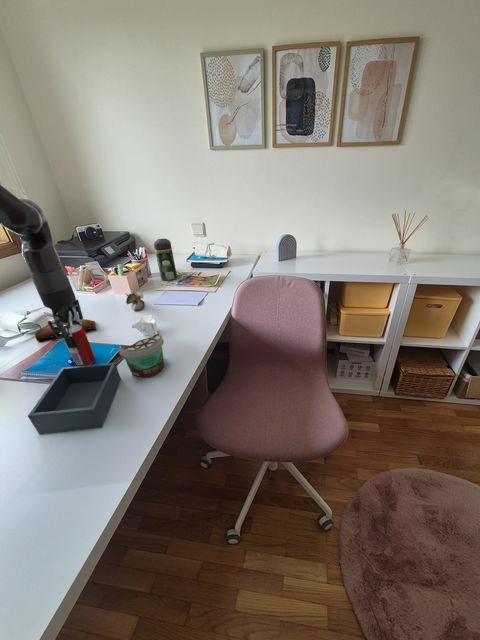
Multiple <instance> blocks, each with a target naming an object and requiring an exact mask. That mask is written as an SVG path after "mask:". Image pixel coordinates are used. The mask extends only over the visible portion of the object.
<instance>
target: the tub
mask: <svg viewBox="0 0 480 640" xmlns="http://www.w3.org/2000/svg"><path fill="white" fill-rule="evenodd" d="M121 381H122V377H121V374H120V372H119V369H118V365H117V363H116V362H110V363H99V364H91V365H86V366H76V365H75V366H66V367H65V366H64V367H63V366H62V367H61V368H60V369H59V371H58V372H57V374H56V375H55V376H54V378H53V379H52V380H51V382H50V384H49V385H48V386H47V388H46V389H45V391H44V392H43V394H42V395H41V396H40V398H39V399H38V401H37V402H36V404H35V405H34V406H33V408H32V409H31V410H30V411H29V413H28V414H27V418H28V419H29V421H30V422H31V424H32V426H33V427H34V429H35V430H36V432H37V434H38V435H45V434H55V433H64V432H72V431H73V432H75V431H82V430H91V429H100V428H103V426H104V423H105V421H106V419H107V416H108V413H109V411H110V409H111V406H112V404H113V402H114V399H115V397H116V394H117V391H118V389H119V387H120V384H121Z"/></svg>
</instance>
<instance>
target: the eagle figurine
mask: <svg viewBox="0 0 480 640" xmlns="http://www.w3.org/2000/svg"><path fill="white" fill-rule="evenodd" d="M125 295H126V300H125V303H126V305H127V306H128V305H130V304H131V305H130V308H131V309H132V308H133V307H134V309H133V311H134V312H137V313H138V312H142V311H143V310H145V307H146V305H145V301H144V300H143V299H144V298H145V297H144V294H143V292H142V291H137V292H136V293H135V292H133V293H129V294H128V293H125Z"/></svg>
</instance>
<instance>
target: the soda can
mask: <svg viewBox="0 0 480 640" xmlns="http://www.w3.org/2000/svg"><path fill="white" fill-rule="evenodd" d="M65 329H66V331H67V328H65ZM71 330H72V335H73V337H74V339H75V341H76V344H77V347H76V348H68V346H67V344H66V342H65V340H64V339H63V341H64V343H65V345H66V348H67V349H68V350H67V351H68V352H69V355H70V356H71V359H72V360H73V363H74V362H75V363H76V365H77V366H86V365H90V364H91V365H93V364H94V363H95V361H96V357H95V353H94V351H93V349H92V346H91V344H90V341H89V338H88V336H87V333H86V330H84V329H83V328H82V327H81V325H73V327H72V328H71ZM67 332H68V331H67ZM93 362H94V363H93ZM75 363H74V364H75ZM92 363H93V364H92ZM76 365H75V366H76Z"/></svg>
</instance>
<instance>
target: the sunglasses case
mask: <svg viewBox="0 0 480 640" xmlns="http://www.w3.org/2000/svg"><path fill="white" fill-rule="evenodd" d="M81 322H82V324H81V326H82V328H83V329H84V331H88V330H93V329H94V330H97V324H96V323H97V322H96V321H95V320H91V319H86V318H83V319H82V320H81ZM63 325H68V323H67V324H63ZM59 333H60V332H59ZM34 336H35V340H36V341H37V342H39V341H43V340H47V339H51V338H55V337H56V335H55V334H54V332H53V330H52V329H51V327H50V326H49V324H48V325H45V326H43V327H41V328H39V329H38V330H36V331H35V334H34Z"/></svg>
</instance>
